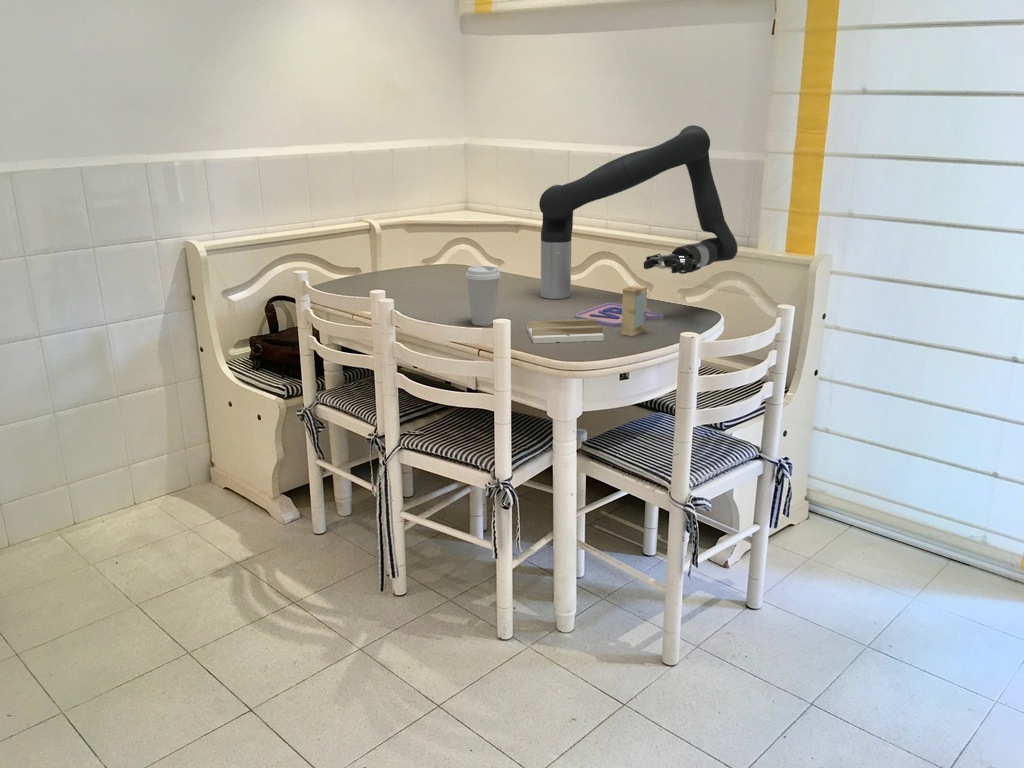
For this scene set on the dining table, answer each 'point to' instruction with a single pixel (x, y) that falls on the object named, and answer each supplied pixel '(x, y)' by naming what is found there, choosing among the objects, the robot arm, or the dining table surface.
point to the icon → (610, 314)
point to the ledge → (565, 331)
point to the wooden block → (633, 310)
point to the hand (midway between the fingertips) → (658, 267)
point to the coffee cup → (483, 293)
